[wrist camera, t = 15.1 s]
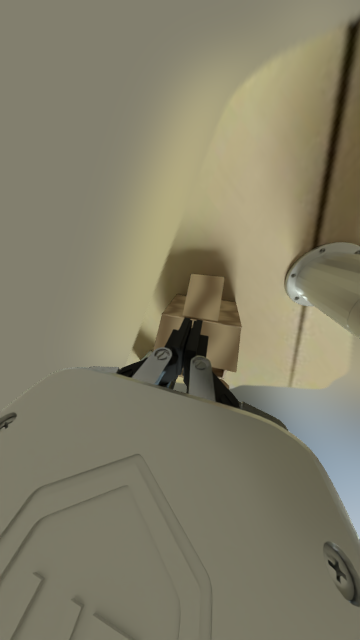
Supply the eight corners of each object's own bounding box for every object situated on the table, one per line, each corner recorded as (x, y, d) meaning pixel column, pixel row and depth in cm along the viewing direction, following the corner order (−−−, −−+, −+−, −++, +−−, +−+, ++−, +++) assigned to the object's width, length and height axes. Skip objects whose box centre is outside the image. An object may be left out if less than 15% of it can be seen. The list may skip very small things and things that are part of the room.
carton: (235, 301, 35) (241, 327, 25) (223, 347, 44) (223, 379, 34) (176, 294, 38) (161, 314, 28) (175, 337, 47) (163, 364, 37)
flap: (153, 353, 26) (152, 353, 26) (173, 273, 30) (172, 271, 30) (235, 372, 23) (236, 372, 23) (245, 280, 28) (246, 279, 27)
